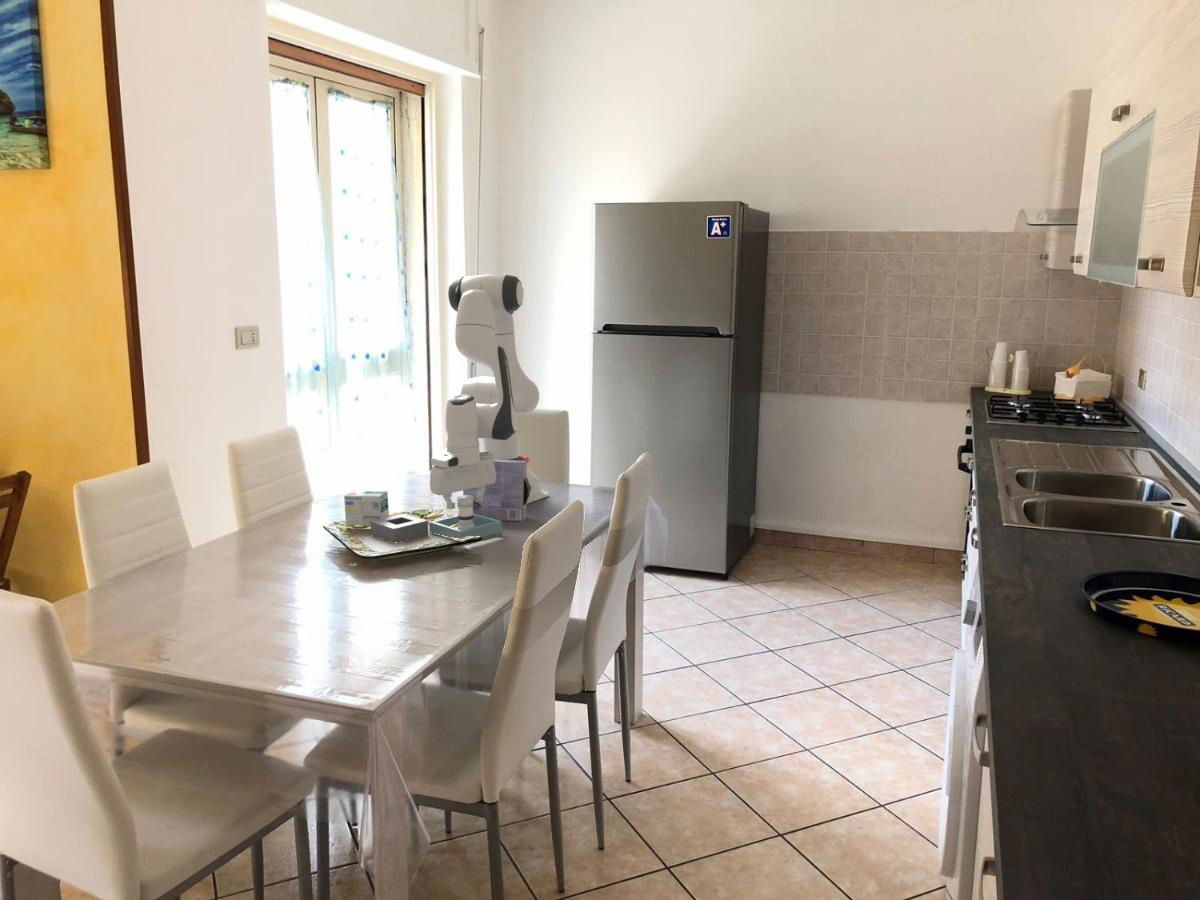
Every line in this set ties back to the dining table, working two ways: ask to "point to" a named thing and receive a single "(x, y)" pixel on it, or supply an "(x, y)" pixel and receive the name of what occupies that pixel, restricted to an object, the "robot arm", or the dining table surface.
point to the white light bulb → (465, 512)
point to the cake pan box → (504, 493)
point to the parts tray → (481, 528)
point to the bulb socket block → (399, 527)
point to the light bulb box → (365, 507)
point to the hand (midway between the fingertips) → (464, 505)
